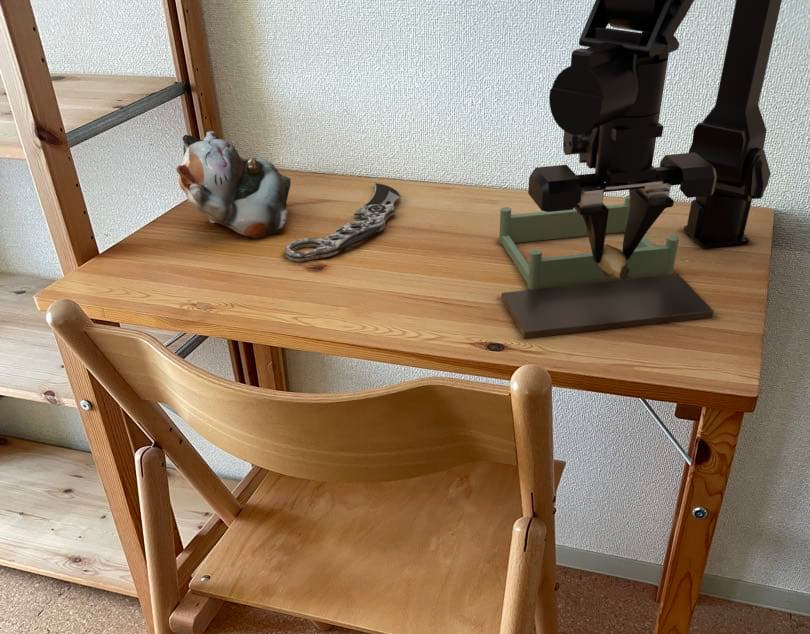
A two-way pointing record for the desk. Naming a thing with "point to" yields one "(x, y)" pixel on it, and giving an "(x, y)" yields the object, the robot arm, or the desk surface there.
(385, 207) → the knife
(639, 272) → the frame
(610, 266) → the brazil nut
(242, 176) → the lucky cat figurine
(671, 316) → the board
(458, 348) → the desk surface
